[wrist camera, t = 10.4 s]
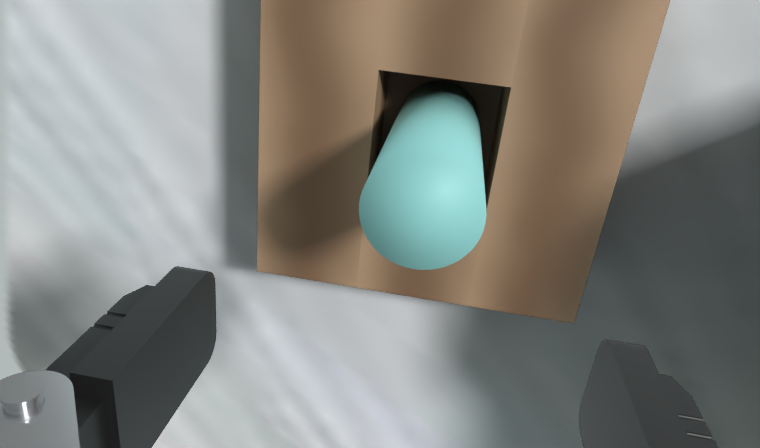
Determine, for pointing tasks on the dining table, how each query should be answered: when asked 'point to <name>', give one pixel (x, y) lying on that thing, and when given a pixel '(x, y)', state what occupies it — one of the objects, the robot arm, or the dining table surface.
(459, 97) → the dowel
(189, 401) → the dining table surface
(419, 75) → the bore block
